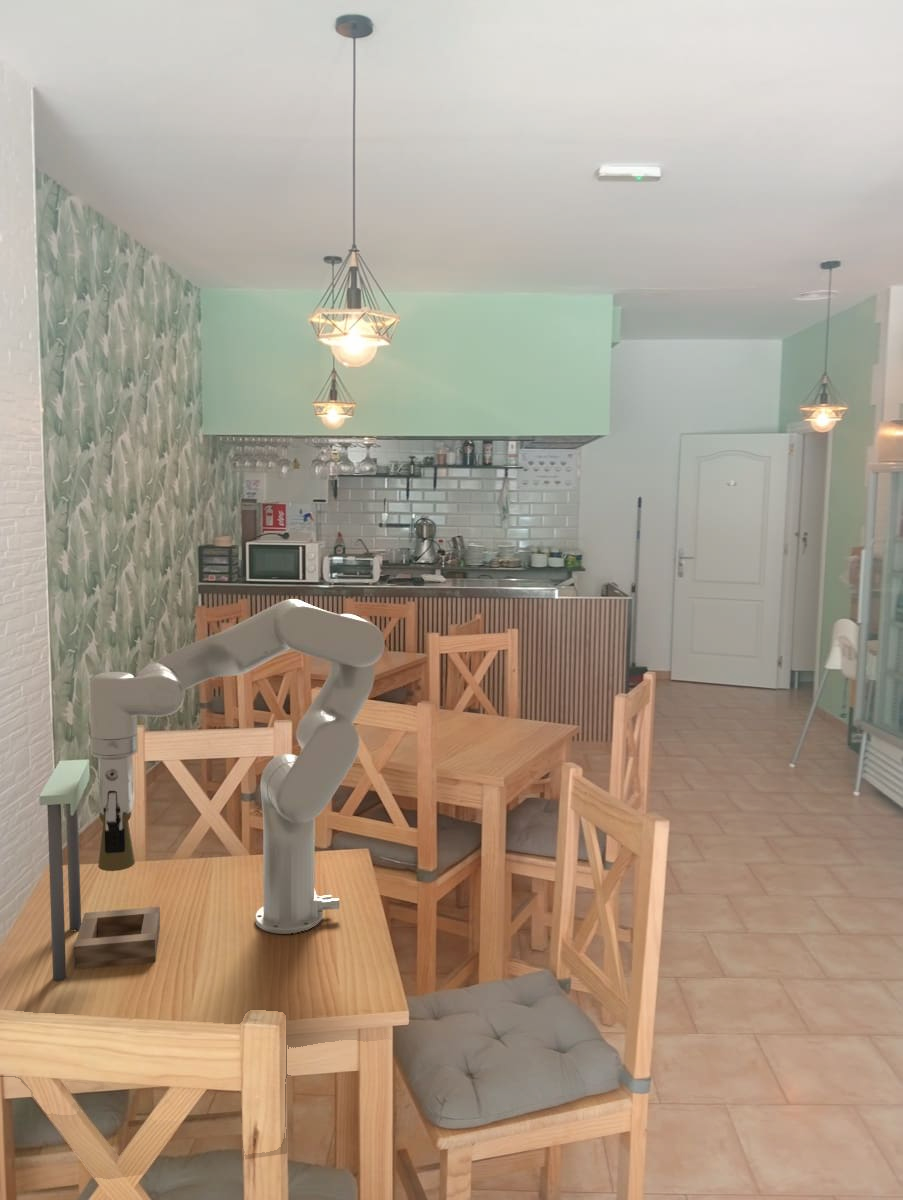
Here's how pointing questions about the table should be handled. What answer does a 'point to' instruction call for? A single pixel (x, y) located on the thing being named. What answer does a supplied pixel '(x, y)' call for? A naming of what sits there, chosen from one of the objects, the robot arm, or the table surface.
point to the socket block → (117, 938)
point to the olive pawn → (121, 858)
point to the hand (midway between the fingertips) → (116, 845)
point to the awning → (61, 790)
